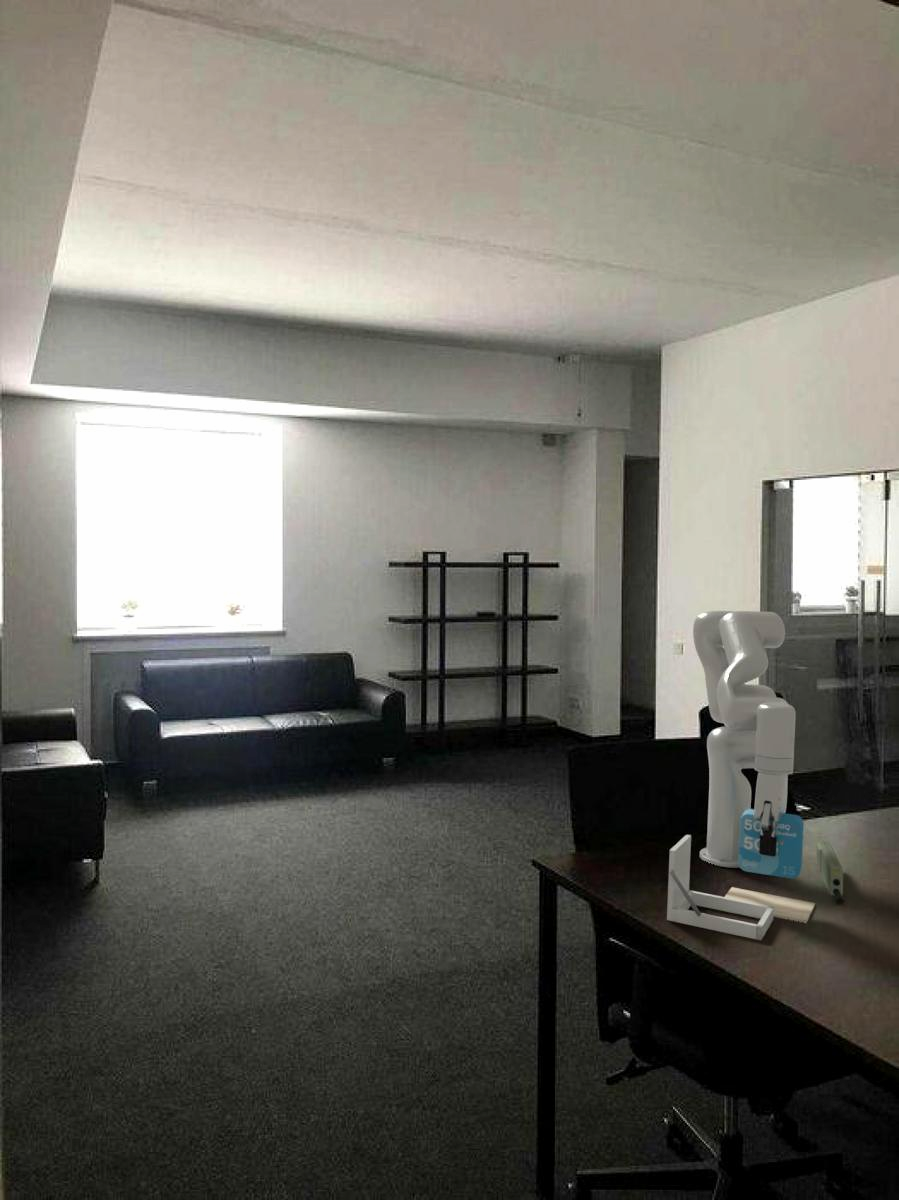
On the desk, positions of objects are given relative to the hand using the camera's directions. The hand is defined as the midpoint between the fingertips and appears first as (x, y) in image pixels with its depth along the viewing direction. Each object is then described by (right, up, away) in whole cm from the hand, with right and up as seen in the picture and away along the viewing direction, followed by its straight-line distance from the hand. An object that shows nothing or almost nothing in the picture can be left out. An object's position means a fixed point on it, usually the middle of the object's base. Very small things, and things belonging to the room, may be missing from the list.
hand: (770, 850), depth 197 cm
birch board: (0, -12, +1) cm, 12 cm away
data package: (0, -5, 0) cm, 5 cm away
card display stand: (-12, -12, -8) cm, 18 cm away
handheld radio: (+18, -12, +14) cm, 26 cm away
